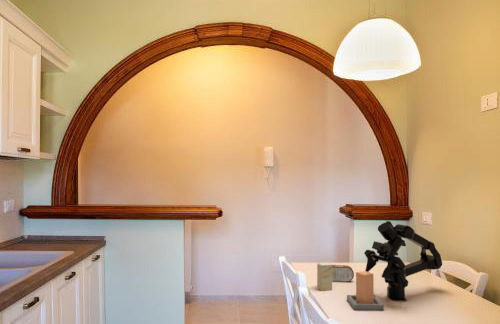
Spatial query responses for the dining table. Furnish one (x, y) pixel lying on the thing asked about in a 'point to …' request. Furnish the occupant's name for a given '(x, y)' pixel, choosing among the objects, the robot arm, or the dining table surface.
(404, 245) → the robot arm
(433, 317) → the dining table surface
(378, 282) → the dining table surface
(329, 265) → the skincare box
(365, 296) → the peach square prism
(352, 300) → the tray
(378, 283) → the dining table surface
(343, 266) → the tin
